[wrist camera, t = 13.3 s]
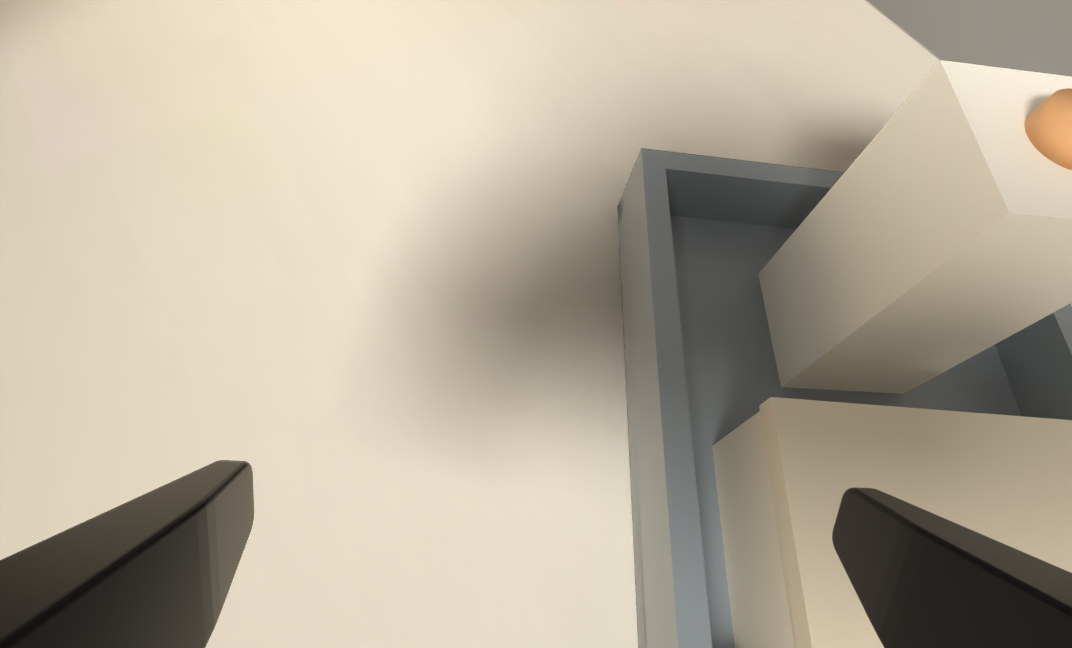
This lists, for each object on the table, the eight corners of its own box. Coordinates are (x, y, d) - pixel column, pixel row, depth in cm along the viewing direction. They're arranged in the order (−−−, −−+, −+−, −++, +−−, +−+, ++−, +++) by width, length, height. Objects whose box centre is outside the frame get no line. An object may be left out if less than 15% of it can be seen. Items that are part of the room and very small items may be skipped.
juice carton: (904, 393, 26) (1238, 211, 15) (781, 387, 25) (1037, 191, 14) (870, 282, 28) (1135, 58, 17) (758, 273, 28) (960, 36, 17)
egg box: (1076, 699, 21) (1244, 713, 16) (736, 691, 20) (821, 705, 15) (997, 463, 25) (1117, 423, 20) (709, 443, 23) (770, 396, 19)
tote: (1146, 762, 21) (1286, 786, 18) (643, 757, 19) (688, 782, 16) (957, 244, 31) (1021, 193, 28) (617, 207, 30) (641, 148, 26)
